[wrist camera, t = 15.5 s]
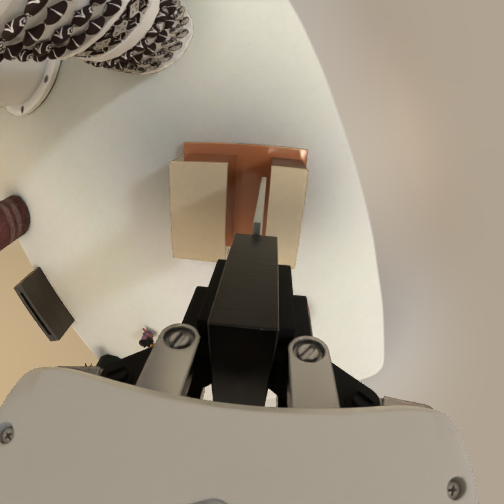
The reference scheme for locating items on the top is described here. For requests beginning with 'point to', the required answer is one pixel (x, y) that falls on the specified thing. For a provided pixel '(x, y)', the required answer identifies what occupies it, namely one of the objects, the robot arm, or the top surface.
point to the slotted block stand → (219, 194)
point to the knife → (246, 317)
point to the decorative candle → (96, 32)
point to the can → (12, 220)
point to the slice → (286, 206)
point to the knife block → (44, 305)
